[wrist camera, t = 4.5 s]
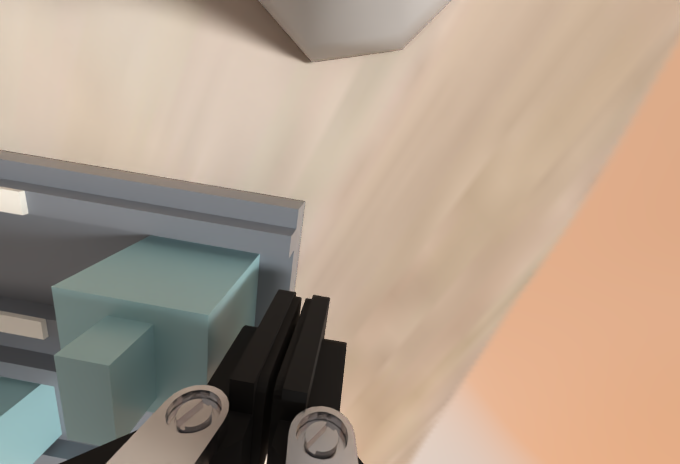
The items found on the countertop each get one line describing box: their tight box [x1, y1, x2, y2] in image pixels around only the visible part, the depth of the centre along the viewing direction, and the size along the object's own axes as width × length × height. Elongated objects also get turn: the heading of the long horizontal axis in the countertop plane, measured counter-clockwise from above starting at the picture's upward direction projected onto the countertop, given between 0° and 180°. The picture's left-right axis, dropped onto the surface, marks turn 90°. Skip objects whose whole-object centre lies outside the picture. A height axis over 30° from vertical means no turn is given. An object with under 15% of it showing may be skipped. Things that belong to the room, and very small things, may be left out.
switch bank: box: [0, 150, 305, 464], centre depth 13 cm, size 14×15×3 cm
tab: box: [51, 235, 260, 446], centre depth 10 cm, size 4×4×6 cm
